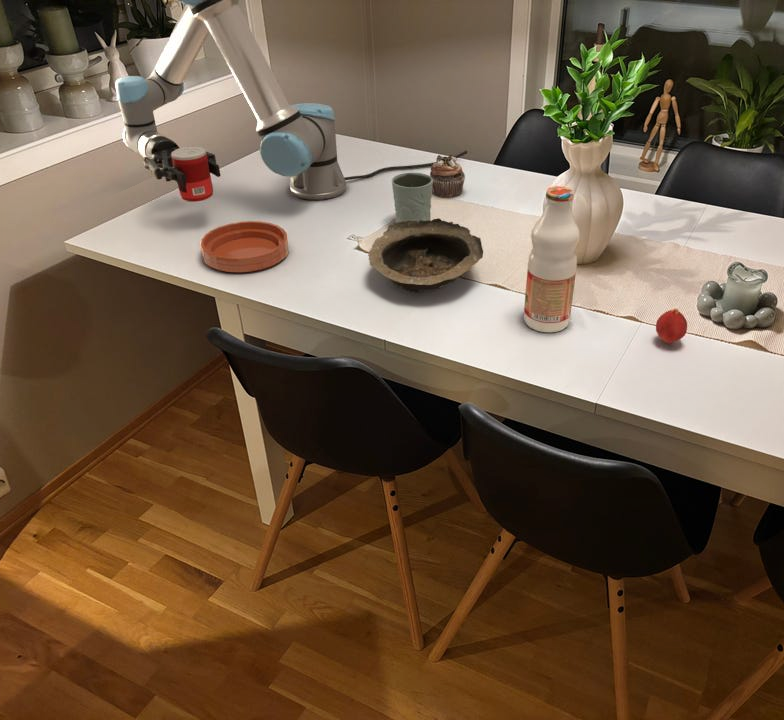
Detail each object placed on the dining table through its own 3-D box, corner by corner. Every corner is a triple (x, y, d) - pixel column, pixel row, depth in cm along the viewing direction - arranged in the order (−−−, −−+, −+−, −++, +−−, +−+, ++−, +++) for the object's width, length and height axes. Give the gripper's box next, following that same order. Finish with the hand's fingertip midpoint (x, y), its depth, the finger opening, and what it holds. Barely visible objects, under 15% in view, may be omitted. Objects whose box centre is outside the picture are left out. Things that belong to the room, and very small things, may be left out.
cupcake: (434, 200, 198) (434, 164, 192) (427, 186, 205) (426, 152, 200) (468, 197, 200) (469, 161, 194) (460, 184, 207) (460, 149, 202)
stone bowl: (468, 247, 175) (470, 212, 169) (490, 307, 156) (493, 271, 150) (364, 252, 171) (363, 217, 165) (374, 315, 152) (373, 278, 146)
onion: (648, 334, 145) (656, 300, 140) (677, 333, 146) (685, 299, 141) (658, 351, 140) (665, 316, 136) (687, 350, 141) (695, 315, 136)
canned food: (220, 191, 180) (212, 148, 174) (201, 204, 174) (192, 159, 168) (193, 187, 183) (184, 144, 176) (174, 199, 176) (164, 155, 170)
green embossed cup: (401, 236, 180) (400, 189, 173) (387, 220, 187) (385, 175, 180) (439, 229, 183) (439, 183, 176) (423, 213, 191) (423, 169, 184)
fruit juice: (542, 338, 144) (556, 205, 127) (514, 316, 150) (523, 187, 134) (579, 325, 148) (597, 194, 131) (550, 304, 154) (563, 177, 138)
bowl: (287, 233, 180) (285, 218, 178) (290, 270, 165) (288, 254, 163) (206, 239, 177) (203, 224, 175) (201, 278, 161) (198, 262, 159)
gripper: (200, 155, 193) (243, 180, 180) (123, 174, 182) (162, 202, 168) (195, 127, 189) (238, 150, 175) (115, 145, 178) (155, 171, 164)
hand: (201, 175), depth 172 cm, fingers closed on canned food, 8 cm apart
